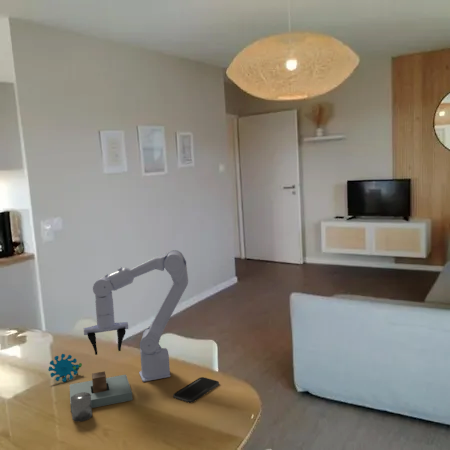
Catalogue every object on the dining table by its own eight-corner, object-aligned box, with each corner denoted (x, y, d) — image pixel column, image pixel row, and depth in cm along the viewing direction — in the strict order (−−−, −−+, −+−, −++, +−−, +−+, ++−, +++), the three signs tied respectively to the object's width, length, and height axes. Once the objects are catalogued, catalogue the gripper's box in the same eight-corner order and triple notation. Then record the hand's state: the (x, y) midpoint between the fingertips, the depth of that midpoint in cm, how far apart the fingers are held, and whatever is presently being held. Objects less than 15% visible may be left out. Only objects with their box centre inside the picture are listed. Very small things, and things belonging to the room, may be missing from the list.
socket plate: (126, 381, 156) (125, 374, 156) (132, 400, 143) (132, 392, 143) (70, 391, 150) (69, 384, 150) (71, 412, 137) (70, 404, 137)
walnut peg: (106, 392, 149) (104, 371, 148) (107, 397, 145) (105, 376, 144) (93, 394, 148) (91, 373, 147) (94, 400, 144) (92, 378, 143)
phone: (171, 395, 144) (201, 376, 156) (171, 398, 144) (201, 379, 156) (191, 401, 139) (220, 381, 151) (191, 404, 139) (220, 385, 151)
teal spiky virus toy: (49, 381, 155) (48, 353, 161) (47, 389, 159) (46, 361, 165) (83, 378, 160) (81, 351, 166) (80, 385, 163) (78, 359, 169)
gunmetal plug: (91, 410, 138) (90, 390, 137) (92, 419, 133) (91, 399, 132) (72, 414, 136) (70, 394, 135) (72, 423, 131) (70, 403, 130)
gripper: (83, 319, 150) (86, 359, 152) (128, 313, 155) (131, 352, 157) (82, 313, 157) (85, 352, 159) (125, 307, 162) (128, 345, 163)
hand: (107, 351), depth 158 cm, fingers open, 7 cm apart
